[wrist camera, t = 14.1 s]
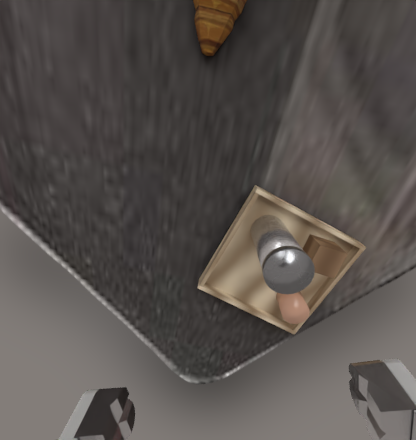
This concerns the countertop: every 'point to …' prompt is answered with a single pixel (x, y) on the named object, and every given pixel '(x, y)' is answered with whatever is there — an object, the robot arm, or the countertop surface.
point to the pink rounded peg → (293, 307)
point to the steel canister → (281, 256)
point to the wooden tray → (250, 265)
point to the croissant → (215, 22)
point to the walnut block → (325, 255)
